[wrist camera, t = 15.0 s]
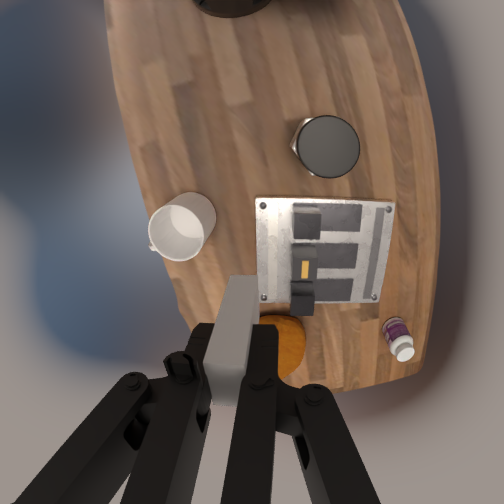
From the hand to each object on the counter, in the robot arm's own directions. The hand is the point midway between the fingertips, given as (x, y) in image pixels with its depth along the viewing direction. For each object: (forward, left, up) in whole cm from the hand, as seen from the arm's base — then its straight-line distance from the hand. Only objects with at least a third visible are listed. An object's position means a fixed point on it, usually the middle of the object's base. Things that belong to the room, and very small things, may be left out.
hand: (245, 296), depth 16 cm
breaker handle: (+12, +6, -31) cm, 34 cm away
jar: (-7, +8, -34) cm, 36 cm away
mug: (+6, -15, -34) cm, 38 cm away
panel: (+12, +10, -34) cm, 37 cm away
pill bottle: (+30, +28, -34) cm, 53 cm away
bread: (+32, -1, -34) cm, 47 cm away
